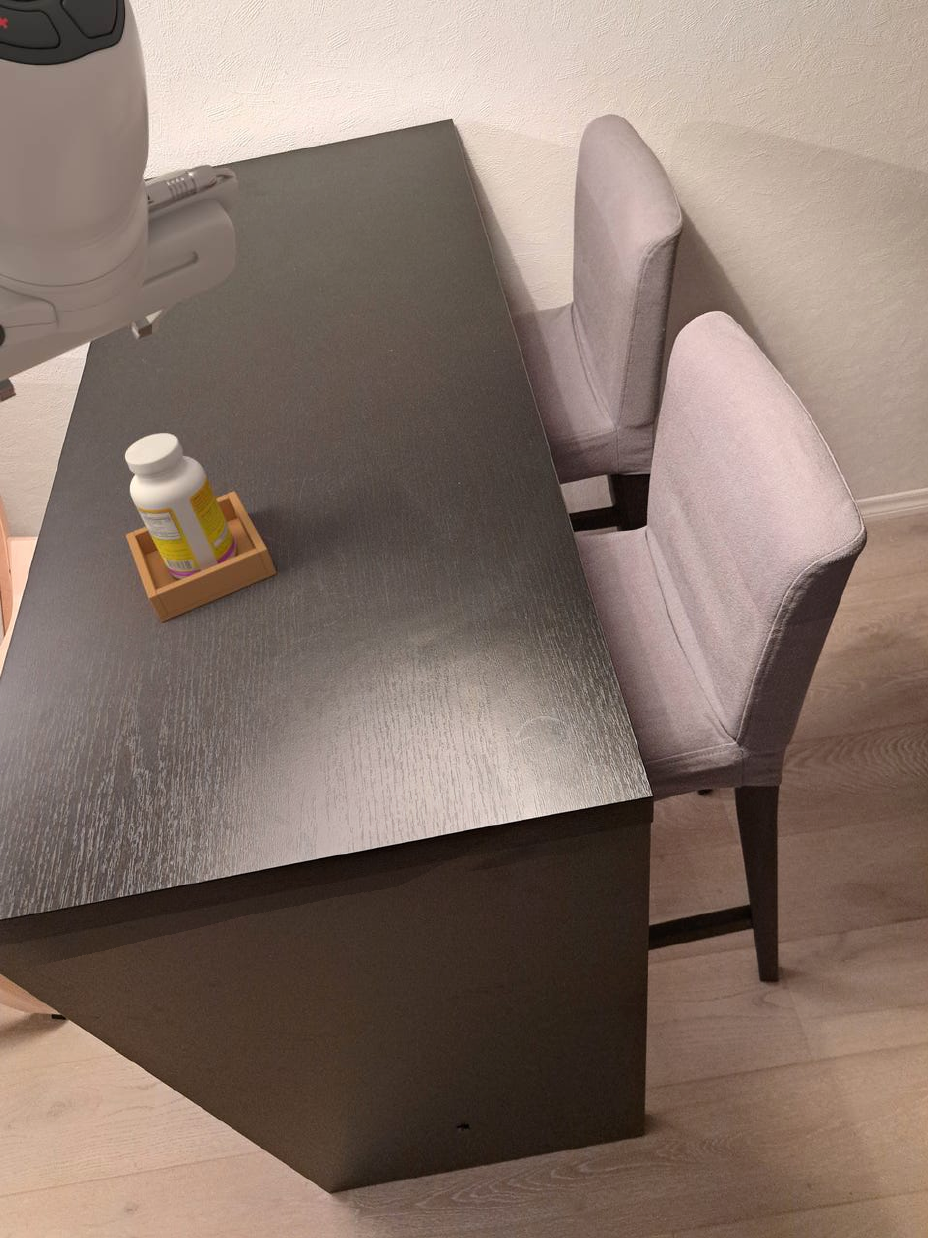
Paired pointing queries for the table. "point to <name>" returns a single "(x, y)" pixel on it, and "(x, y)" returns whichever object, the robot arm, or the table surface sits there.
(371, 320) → the table surface
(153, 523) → the supplement bottle
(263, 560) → the open wooden box
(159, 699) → the table surface
